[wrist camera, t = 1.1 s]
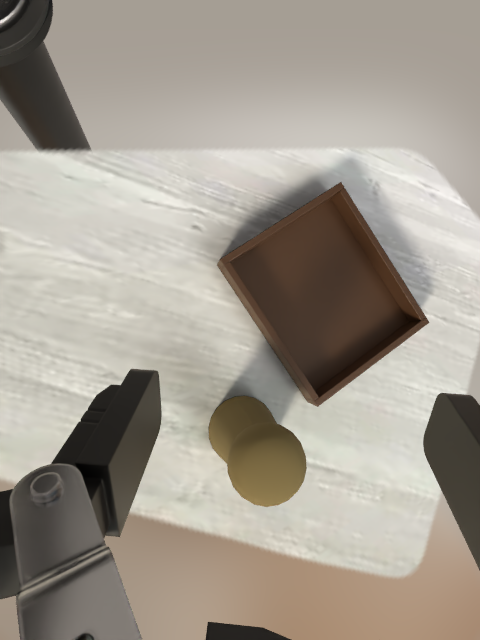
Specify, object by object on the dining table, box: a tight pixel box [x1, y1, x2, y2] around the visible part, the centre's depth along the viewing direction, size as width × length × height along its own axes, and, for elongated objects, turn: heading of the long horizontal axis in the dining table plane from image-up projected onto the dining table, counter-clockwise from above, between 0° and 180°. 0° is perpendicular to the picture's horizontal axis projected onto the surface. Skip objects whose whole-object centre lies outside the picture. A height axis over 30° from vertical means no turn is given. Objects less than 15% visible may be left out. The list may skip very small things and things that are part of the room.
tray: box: [217, 182, 429, 407], centre depth 35 cm, size 15×13×2 cm
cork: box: [209, 396, 306, 507], centre depth 29 cm, size 6×6×11 cm
